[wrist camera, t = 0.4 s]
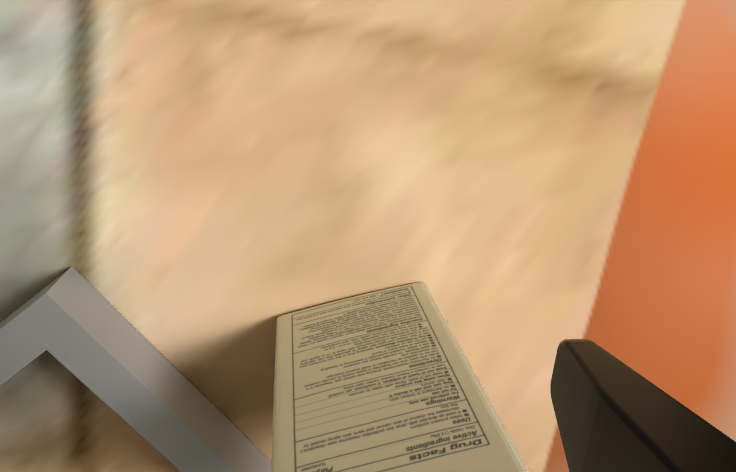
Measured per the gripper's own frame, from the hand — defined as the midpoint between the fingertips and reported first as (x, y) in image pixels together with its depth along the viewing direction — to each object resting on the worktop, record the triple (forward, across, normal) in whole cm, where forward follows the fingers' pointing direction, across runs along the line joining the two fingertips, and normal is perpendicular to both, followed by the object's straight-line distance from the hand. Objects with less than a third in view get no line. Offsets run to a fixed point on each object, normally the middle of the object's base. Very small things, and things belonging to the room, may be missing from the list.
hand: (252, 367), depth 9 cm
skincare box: (+13, -2, +10) cm, 17 cm away
